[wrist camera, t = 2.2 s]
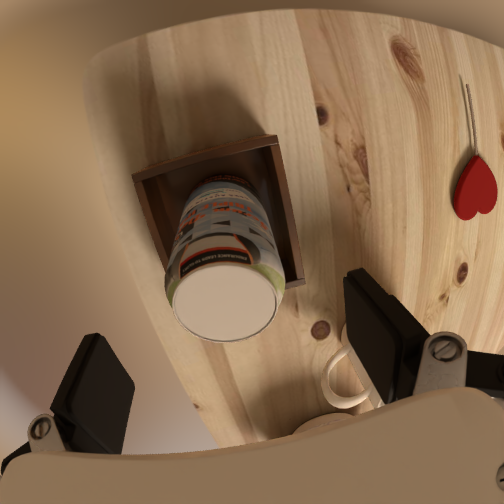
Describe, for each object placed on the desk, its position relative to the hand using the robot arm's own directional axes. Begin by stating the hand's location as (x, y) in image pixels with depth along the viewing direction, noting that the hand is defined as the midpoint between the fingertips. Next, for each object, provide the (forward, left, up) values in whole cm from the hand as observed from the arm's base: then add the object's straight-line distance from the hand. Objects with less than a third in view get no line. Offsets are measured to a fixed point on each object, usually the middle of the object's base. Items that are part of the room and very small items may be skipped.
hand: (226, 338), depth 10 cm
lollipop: (-2, +28, -15) cm, 31 cm away
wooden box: (0, 0, -15) cm, 15 cm away
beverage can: (0, 0, -15) cm, 15 cm away
